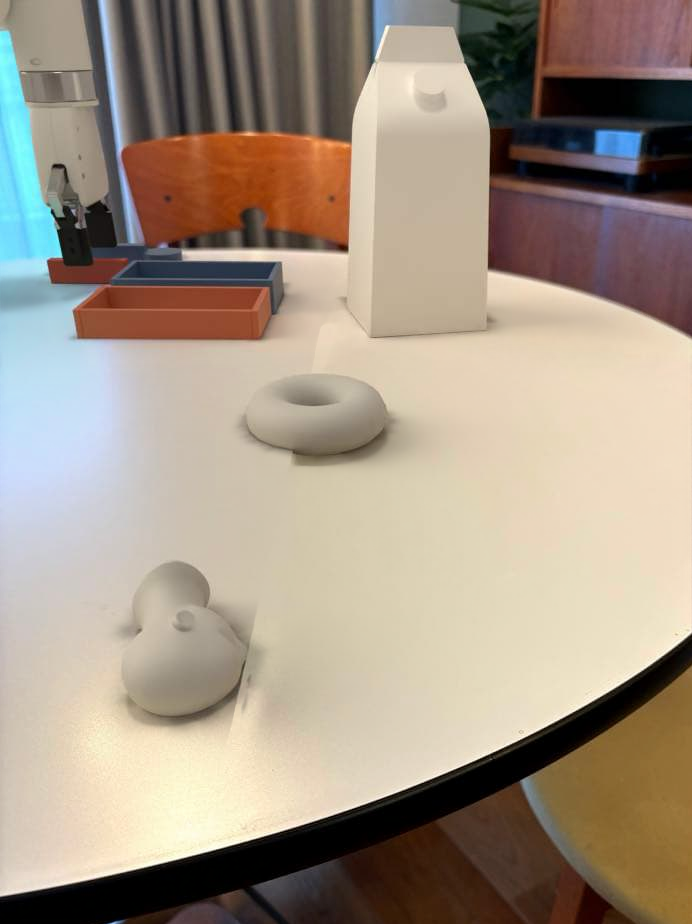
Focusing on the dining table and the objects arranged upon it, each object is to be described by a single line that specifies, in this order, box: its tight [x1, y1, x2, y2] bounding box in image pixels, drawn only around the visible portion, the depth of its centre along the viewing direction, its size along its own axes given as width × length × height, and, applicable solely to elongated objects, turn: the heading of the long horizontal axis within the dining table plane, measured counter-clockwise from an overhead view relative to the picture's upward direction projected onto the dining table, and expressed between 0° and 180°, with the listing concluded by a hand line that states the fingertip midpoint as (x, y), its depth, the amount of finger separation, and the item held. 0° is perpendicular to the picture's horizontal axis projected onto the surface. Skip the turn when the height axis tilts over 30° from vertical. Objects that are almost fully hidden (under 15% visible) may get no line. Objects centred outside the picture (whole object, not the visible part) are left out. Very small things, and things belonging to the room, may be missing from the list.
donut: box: [245, 373, 388, 456], centre depth 59 cm, size 10×4×10 cm
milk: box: [346, 24, 491, 338], centre depth 80 cm, size 12×12×26 cm
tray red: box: [72, 285, 272, 340], centre depth 80 cm, size 17×9×4 cm, turn 91°
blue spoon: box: [91, 242, 184, 264], centre depth 106 cm, size 14×5×3 cm, turn 91°
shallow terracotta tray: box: [46, 257, 128, 284], centre depth 98 cm, size 14×5×3 cm, turn 91°
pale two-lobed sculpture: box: [120, 559, 248, 717], centre depth 36 cm, size 4×8×5 cm
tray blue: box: [110, 260, 285, 315], centre depth 90 cm, size 17×9×4 cm, turn 91°
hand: (92, 256), depth 97 cm, fingers open, 9 cm apart
